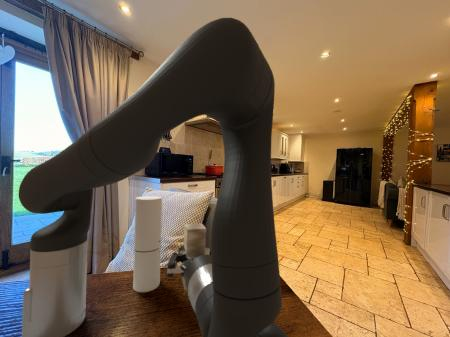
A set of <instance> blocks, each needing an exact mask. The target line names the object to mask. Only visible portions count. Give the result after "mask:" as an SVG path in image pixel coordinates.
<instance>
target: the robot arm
mask: <svg viewBox="0 0 450 337" xmlns="http://www.w3.org/2000/svg"><path fill="white" fill-rule="evenodd" d="M275 89H276V84H275V77H274V74H273V70H272V67H271V66H270V64H269V62H268V60H267V59H266V56H265V55H264V53H263V51H262V49H261V48H260V46H259V44H258V42H257V40H256V39H255V37H254V35H253V33H252V31H251V30H250V29H249V27H248V26H247V25H246V24H245V23H244V22H243V21H241V20H239V19H237V18H233V17H220V18H218V19H215V20H211V21H209V22H208V23H206V24H204V25H203V26H201V27H199V28H198V29H197V30H195V31H194V32H193V33H192V34H190V35H189V36H188V37H187V38H186V39H185V40H184V41H183V42H182V43H181V44H180V45H179V46H178V47H177V48H176V49H175V50H174V51H173V52H172V53H171V54H170V55H169V56H168V57H167V58H166V59H165V61H163V62H162V63H161V65H160V66H158V68H157V69H156V70H155V71H154V72H153V73H152V74H151V75H150V76H149V78H148V79H147V80H145V82H143V84H141V86H140V87H139V88H138V89H137V90H136V91H134V92H133V93H132V94H130V96H129V97H128V98H126V99H125V100H124V101H123V102H122V103H121V104H119V106H117V107H116V108H115V109H114V110H112V111H111V112H110V113H108V115H106V116H105V117H103V118H102V119H100V120H99V121H98V122H96V123H95V124H94V125H93V126H91V127H89V128H88V130H86V131H85V132H84V133H83V134H82V135H81V136H80V137H78V138H77V139H76V140H75V141H74V142H72V143H71V144H70V145H68V146H67V147H66V148H64V149H63V150H62V151H61V152H59V153H58V154H56V155H54V156H52V157H51V158H49V159H48V160H45V161H44V162H42V163H40V164H38V165H35V166H34V167H33V168H31V169H30V170H29V171H28V172H27V173H26V174H25V175H24V177H23V178H22V180H21V182H20V185H19V187H18V200H19V202H20V205H21V206H22V207H23V208H24V209H25V210H26V211H28V212H29V213H33V214H38V215H39V214H42V215H43V214H45V215H46V214H54V213H60V212H63V213H62V215H60V217H59V218H57V219H56V220H55V221H53V222H52V223H50V224H48V225H46V226H44V227H42V228H40V229H38V230H36V231H34V233H32V235H31V236H30V242H29V243H30V247H29V249H30V250H29V251H30V252H29V253H30V255H29V256H30V257H29V283H28V284H29V286H28V287H27V288H26V289H25V290H24V291H23V293H22V319H21V320H22V321H21V323H22V324H21V325H22V326H21V337H66V336H67V335H70V334H71V333H72V332H74V331H76V329H78V328H79V327H80V326H81V325H82V324H83V322H84V321H85V319H86V310H87V304H86V298H87V270H88V269H87V268H88V267H87V266H88V241H89V240H88V237H89V236H88V233H89V231H90V227H91V222H92V208H93V199H94V198H93V197H94V189H96V188H97V189H98V188H101V187H105V186H106V187H107V186H109V185H113V184H116V183H119V182H121V181H123V180H126V179H127V178H129V177H131V176H134V175H135V174H137V173H139V172H140V171H142V170H143V169H146V168H147V167H149V165H150V164H151V163H152V162H153V160H154V158H155V157H156V155H157V152H158V151H159V146H160V143H161V140H162V138H163V137H164V136H165V135H166V134H168V133H169V132H170V131H173V130H174V129H175V128H177V127H179V126H181V125H182V124H184V123H186V122H188V121H190V120H193V119H194V118H197V117H200V116H207V117H208V118H210V119H211V120H213V121H215V122H217V123H218V124H219V126H220V128H219V129H220V132H221V137H222V142H223V152H224V154H223V155H224V160H223V161H224V163H223V166H224V167H223V173H222V179H221V183H220V189H219V192H218V196H217V200H216V205H215V208H214V213H213V218H212V222H211V223H212V224H211V230H210V231H211V232H210V248H209V247H208V246H207V245H206V244H205V251H204V255H201V256H193V255H192V254H191V253H190V252H188V253H187V252H185V248H184V244H182V245H180V247H178V248H177V249H178V250H177V251H178V252H176V251H175V252H173V253H171V255H170V258H169V260H168V262H167V269H166V270H167V272H166V276H167V277H166V278H172V277H174V274H180V276H181V277H182V276H183V277H184V280H185V283H186V287H187V290H186V291H187V296H188V300H189V302H190V305H191V307H192V309H193V311H194V313H195V316H196V320H197V323H198V326H199V330H200V334H201V337H289V335H288V334H287V333H286V332H285V331H284V329H282V328H281V327H280V326H279V325H278V324H277V323H276V322H274V321H276V320H277V318H278V317H279V315H280V313H281V311H282V303H283V301H282V299H283V298H282V296H283V295H282V286H281V285H282V284H281V274H280V265H279V254H278V244H277V236H276V226H275V212H274V202H273V185H272V134H273V120H274V108H275V107H274V106H275V105H274V104H275ZM178 263H179V264H180V265H179V264H178Z"/></svg>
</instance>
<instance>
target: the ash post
mask: <svg viewBox="0 0 450 337" xmlns="http://www.w3.org/2000/svg"><path fill="white" fill-rule="evenodd" d="M183 226H184V227H183V245H184V248H185V252H187V253H188V252H190V253H191V254H192V255H193V256H201V255H204V251H205V245H206V241H207V240H206V239H207V238H206V237H207V228H206V226H205V225H204V224H203V223H202V222H201V223H199V222H198V223H186V224H185V223H184V225H183ZM181 280H182V285H183V288H184V291H187V287H186V283H185V280H184V277H183V276H181Z"/></svg>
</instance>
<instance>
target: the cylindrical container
mask: <svg viewBox="0 0 450 337" xmlns="http://www.w3.org/2000/svg"><path fill="white" fill-rule="evenodd" d="M134 206H135V208H134V210H135V211H134V239H133V240H134V243H133V248H134V249H133V272H132V273H133V279H132V280H133V282H132V288H133V290H134V291H135V292H137V293H147V292H148V293H149V292H151V291H153V290H156V289H157V288H158V287H159V286H160V283H161V255H162V254H161V250H162V249H161V248H162V213H163V212H162V211H163V209H162V208H163V197H162V196H160V195H159V196H158V195H144V196H136V197H135V205H134Z"/></svg>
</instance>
